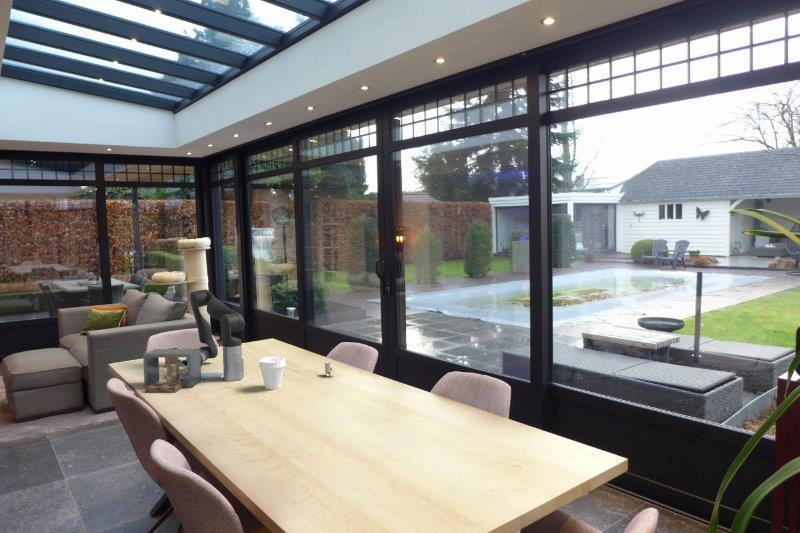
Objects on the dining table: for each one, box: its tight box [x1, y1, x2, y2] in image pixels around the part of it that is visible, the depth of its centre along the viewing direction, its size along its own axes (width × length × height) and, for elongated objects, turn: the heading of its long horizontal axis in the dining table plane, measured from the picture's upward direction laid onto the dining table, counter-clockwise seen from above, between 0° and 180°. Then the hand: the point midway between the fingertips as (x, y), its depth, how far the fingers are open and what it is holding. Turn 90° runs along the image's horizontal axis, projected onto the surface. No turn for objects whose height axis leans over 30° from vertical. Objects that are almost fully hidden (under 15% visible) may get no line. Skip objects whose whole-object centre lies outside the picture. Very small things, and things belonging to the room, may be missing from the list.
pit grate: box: [145, 382, 183, 394], centre depth 266 cm, size 14×7×2 cm, turn 87°
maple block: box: [165, 362, 181, 383], centre depth 276 cm, size 4×4×11 cm
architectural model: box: [324, 361, 337, 376], centre depth 289 cm, size 3×7×7 cm, turn 27°
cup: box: [258, 356, 286, 390], centre depth 268 cm, size 12×12×14 cm
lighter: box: [164, 347, 179, 368], centre depth 316 cm, size 8×3×10 cm, turn 143°
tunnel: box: [142, 348, 202, 389], centre depth 276 cm, size 23×12×16 cm, turn 87°
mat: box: [165, 372, 224, 381], centre depth 291 cm, size 26×12×1 cm, turn 87°
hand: (182, 366), depth 287 cm, fingers open, 8 cm apart
